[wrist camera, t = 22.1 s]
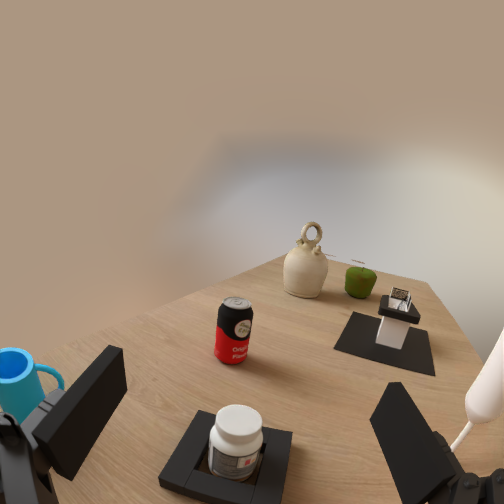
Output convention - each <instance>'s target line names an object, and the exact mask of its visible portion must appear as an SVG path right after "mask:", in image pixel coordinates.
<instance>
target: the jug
mask: <svg viewBox="0 0 504 504" xmlns="http://www.w3.org/2000/svg"><path fill="white" fill-rule="evenodd" d="M311 226H314V227H315V228H316V229H317V236H316V238H315V239H314V240H312V241H310V240H308V239H307V237H306V232H307V230H308V228H309V227H311ZM301 237H302V238H301V239H298V240H297V241H296V243H297V244H298V247H296V248H294V249H292V250H291V251H290V252H289V253H288V255H287V256H286V258H285V261H284V287H285V291H286V292H288V293H289V294H292V295H294V296H297V297H302V298H315V297H317V296H318V294H319V292H320V290H321V288H322V286H323V283H324V281H325V278H326V276H327V272H328V262H327V258H326V256H325V255H324V254H323V253H322V252H321V246H317V247H316V244H317V243H318V242H319V241H320V240H321V238H322V229H321V227H320V226H319V225H318V224H317V223H315V222H309V223H307V224H305V226H304V227H303V228H302V231H301Z"/></svg>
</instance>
